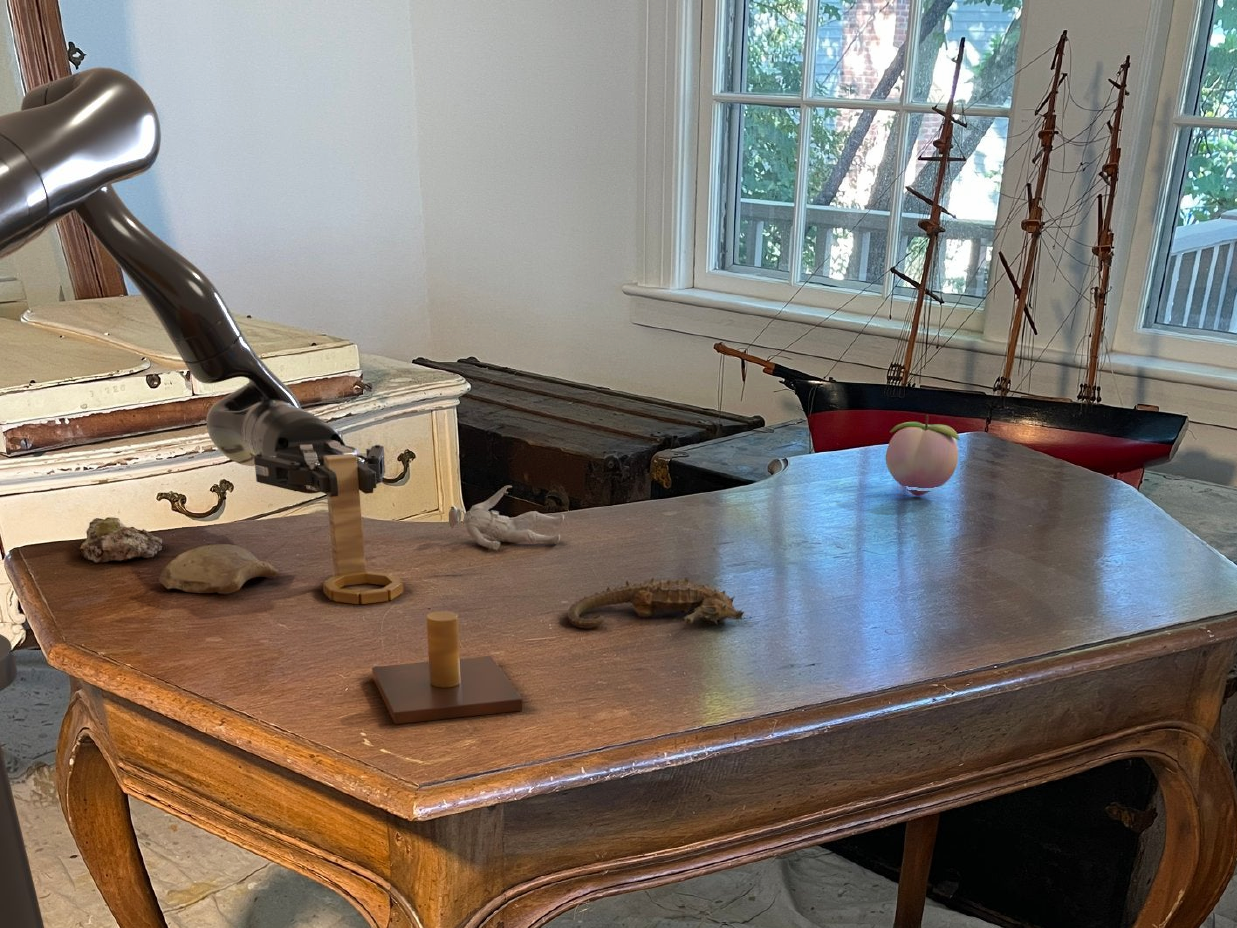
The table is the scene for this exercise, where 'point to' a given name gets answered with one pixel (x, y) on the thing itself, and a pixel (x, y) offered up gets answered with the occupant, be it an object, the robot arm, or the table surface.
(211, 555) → the pottery shard
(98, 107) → the robot arm
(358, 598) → the wooden ring with handle
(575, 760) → the table surface
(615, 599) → the seahorse
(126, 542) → the mineral rock
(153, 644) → the table surface
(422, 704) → the peg stand
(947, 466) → the decorative fruit
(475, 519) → the soldier figure
